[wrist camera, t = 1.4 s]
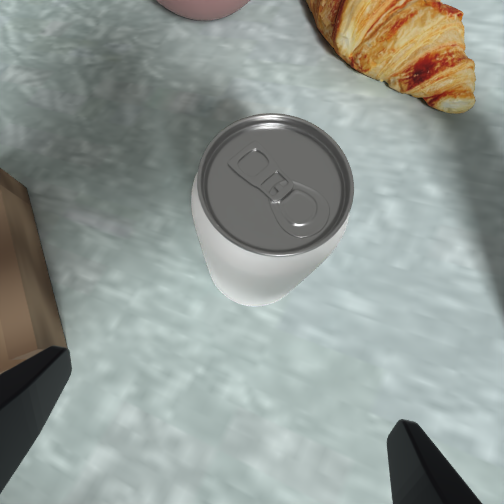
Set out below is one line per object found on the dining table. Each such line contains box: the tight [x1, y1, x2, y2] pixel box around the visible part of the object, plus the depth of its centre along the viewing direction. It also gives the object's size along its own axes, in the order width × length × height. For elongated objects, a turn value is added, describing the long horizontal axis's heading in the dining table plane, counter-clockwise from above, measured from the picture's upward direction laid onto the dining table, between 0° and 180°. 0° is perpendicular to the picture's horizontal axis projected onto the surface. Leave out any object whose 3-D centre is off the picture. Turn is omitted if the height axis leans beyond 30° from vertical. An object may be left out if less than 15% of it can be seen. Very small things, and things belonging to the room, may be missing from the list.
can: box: [191, 113, 354, 307], centre depth 17 cm, size 6×6×12 cm
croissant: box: [306, 0, 476, 114], centre depth 27 cm, size 21×10×8 cm, turn 39°
